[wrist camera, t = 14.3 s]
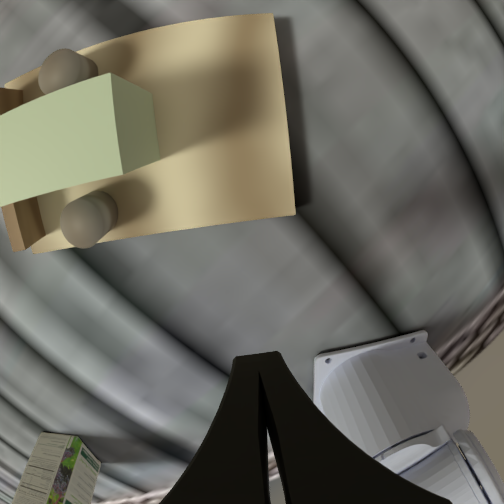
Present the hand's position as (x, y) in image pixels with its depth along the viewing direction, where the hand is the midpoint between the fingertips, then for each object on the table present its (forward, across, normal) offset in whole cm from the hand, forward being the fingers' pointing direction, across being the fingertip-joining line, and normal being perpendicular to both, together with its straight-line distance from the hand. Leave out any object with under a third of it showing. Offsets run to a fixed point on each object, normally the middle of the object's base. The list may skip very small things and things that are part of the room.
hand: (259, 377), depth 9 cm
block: (+9, +8, -8) cm, 14 cm away
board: (+10, +5, -8) cm, 14 cm away
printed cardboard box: (+10, +22, +20) cm, 31 cm away
